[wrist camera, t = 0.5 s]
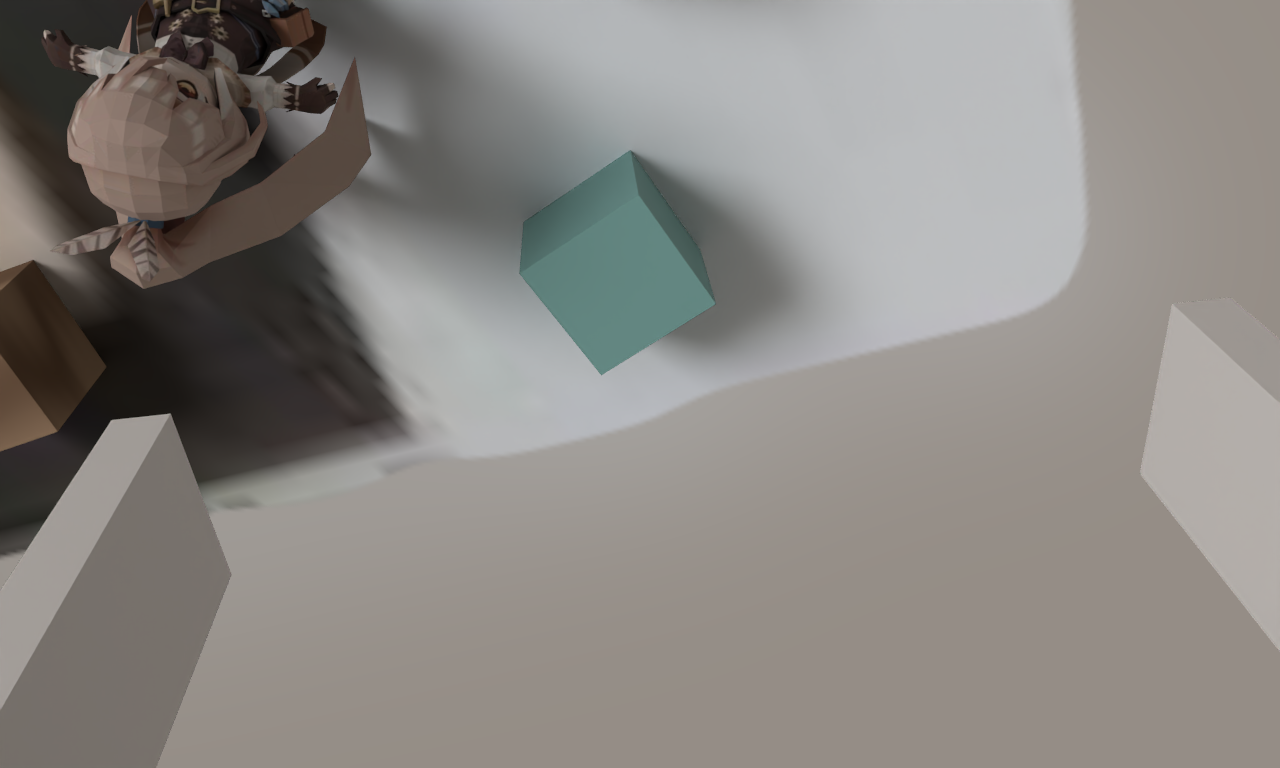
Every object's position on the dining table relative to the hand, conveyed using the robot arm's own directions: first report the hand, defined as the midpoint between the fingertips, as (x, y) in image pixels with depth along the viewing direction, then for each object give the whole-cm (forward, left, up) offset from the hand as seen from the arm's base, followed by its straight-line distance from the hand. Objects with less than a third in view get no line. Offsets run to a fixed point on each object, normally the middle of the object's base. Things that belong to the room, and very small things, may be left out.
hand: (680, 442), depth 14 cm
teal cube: (+8, 0, -28) cm, 29 cm away
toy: (0, -12, -28) cm, 30 cm away
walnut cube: (+10, -24, -28) cm, 38 cm away
